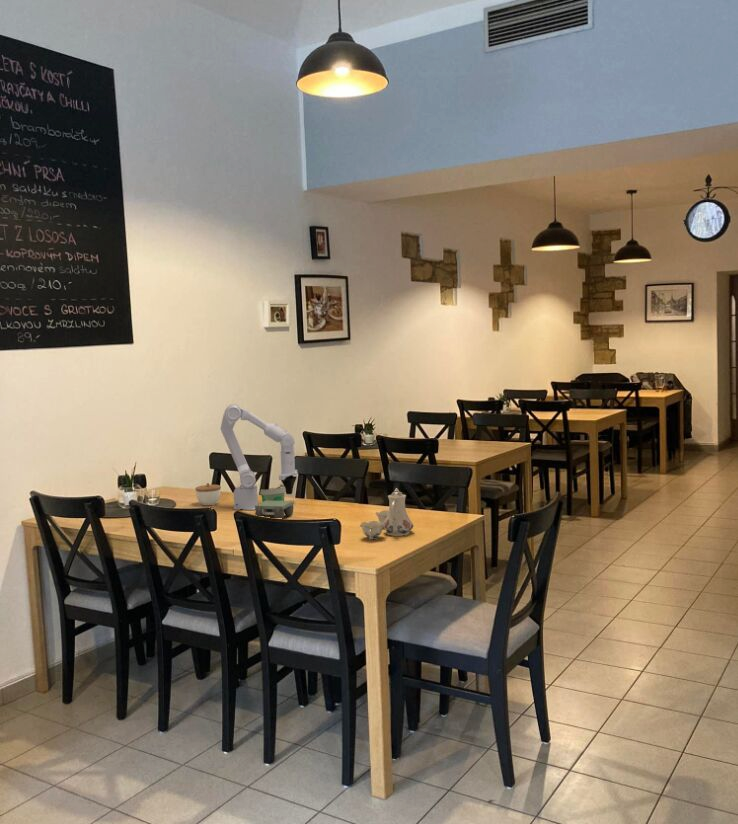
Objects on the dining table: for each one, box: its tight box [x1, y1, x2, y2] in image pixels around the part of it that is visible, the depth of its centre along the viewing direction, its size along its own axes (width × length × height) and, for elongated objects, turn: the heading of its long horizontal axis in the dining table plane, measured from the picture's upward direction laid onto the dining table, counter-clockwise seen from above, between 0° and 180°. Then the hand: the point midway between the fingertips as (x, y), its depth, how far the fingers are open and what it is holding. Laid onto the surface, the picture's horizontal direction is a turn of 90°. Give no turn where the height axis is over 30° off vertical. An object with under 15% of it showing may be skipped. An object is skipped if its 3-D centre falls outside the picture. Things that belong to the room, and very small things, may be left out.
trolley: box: [254, 500, 294, 519], centre depth 318 cm, size 12×15×6 cm
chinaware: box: [359, 487, 414, 541], centre depth 286 cm, size 28×17×17 cm, turn 166°
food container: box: [259, 484, 286, 512], centre depth 329 cm, size 12×6×10 cm, turn 142°
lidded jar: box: [194, 482, 222, 506], centre depth 351 cm, size 11×11×9 cm
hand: (289, 494), depth 342 cm, fingers closed
